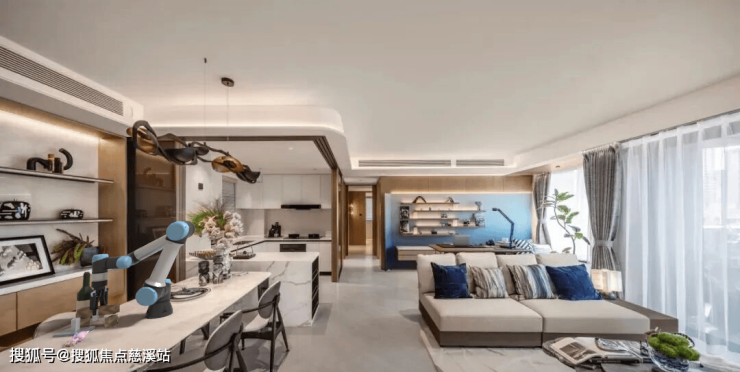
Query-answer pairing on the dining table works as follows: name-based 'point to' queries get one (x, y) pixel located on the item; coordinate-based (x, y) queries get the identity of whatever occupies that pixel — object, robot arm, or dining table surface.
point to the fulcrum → (74, 329)
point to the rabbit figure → (76, 338)
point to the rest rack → (108, 321)
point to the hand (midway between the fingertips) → (98, 319)
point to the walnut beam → (102, 310)
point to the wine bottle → (84, 293)
